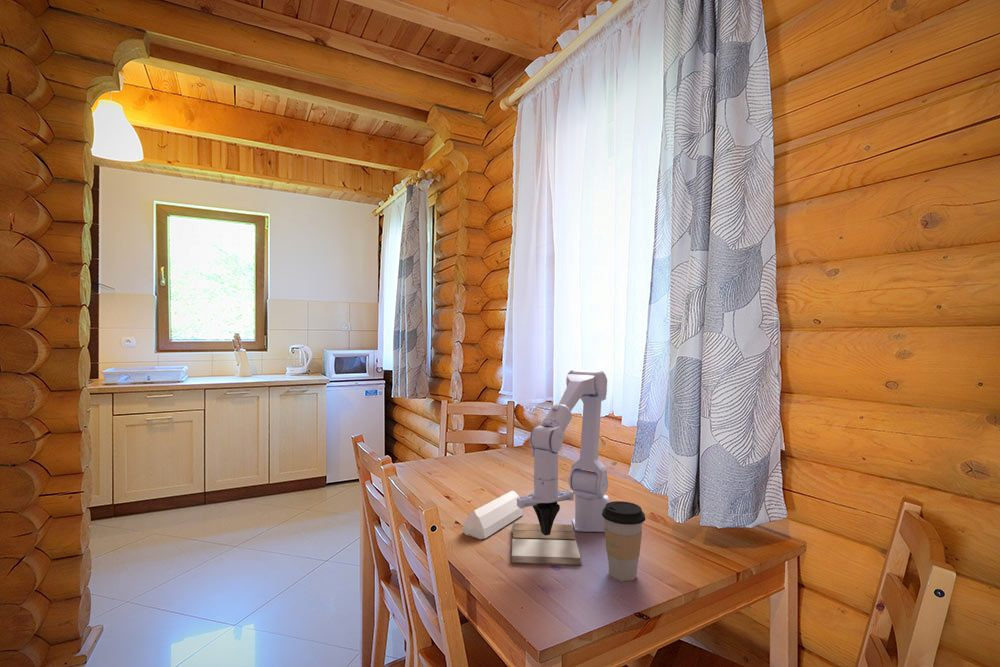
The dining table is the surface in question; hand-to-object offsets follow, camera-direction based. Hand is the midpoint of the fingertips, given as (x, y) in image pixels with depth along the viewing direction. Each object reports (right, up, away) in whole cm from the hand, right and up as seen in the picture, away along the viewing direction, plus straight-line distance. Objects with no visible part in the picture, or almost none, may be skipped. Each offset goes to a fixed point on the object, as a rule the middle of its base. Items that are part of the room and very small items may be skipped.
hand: (545, 533), depth 111 cm
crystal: (-12, -6, +20) cm, 24 cm away
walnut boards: (0, -6, +11) cm, 13 cm away
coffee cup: (+17, -6, -7) cm, 19 cm away
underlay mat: (0, -6, +7) cm, 9 cm away
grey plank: (0, -6, +1) cm, 6 cm away
